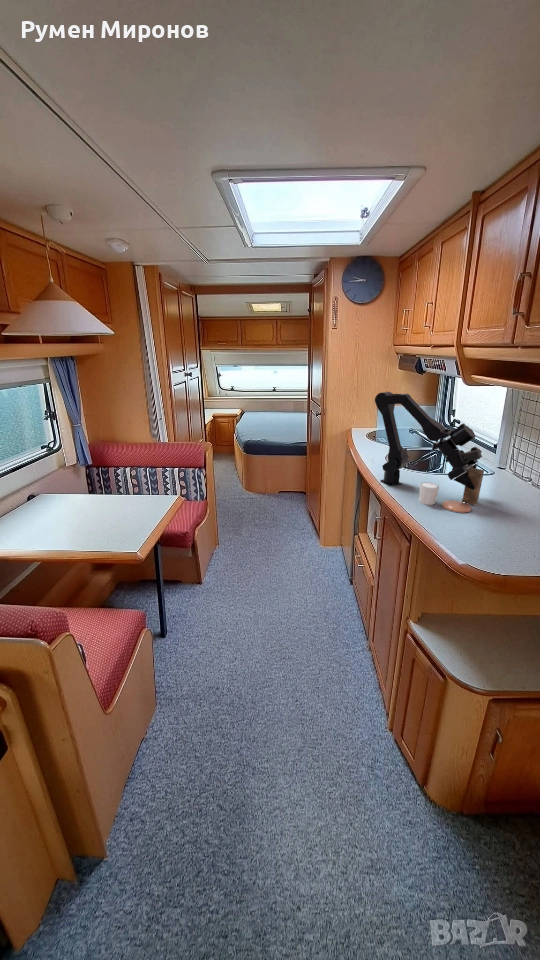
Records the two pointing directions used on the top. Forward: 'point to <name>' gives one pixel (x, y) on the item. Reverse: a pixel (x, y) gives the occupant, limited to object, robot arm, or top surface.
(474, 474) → the walnut block
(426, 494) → the white short cylinder
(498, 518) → the top surface
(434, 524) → the top surface
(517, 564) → the top surface
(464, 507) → the orange flat disc
